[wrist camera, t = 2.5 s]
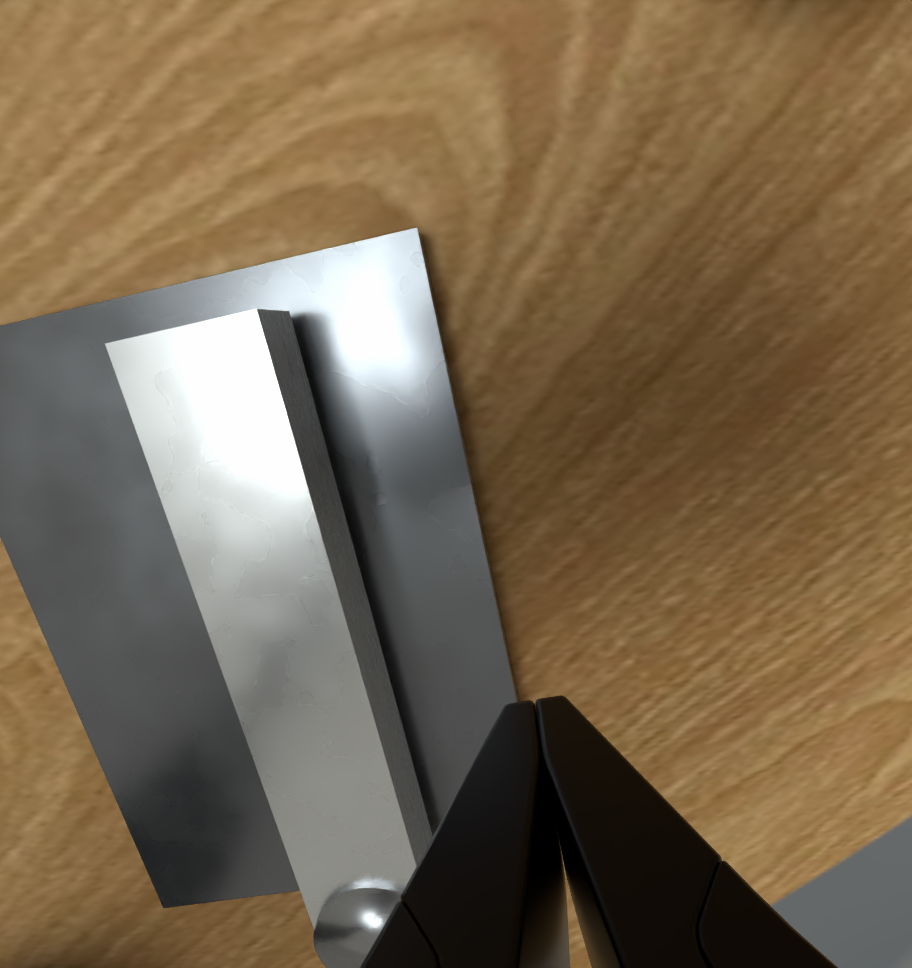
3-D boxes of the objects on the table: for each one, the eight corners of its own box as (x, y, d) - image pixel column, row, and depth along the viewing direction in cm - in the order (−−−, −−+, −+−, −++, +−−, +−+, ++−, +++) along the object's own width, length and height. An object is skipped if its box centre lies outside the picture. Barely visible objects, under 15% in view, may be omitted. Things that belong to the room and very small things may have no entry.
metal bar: (450, 900, 22) (446, 981, 19) (349, 913, 22) (331, 993, 20) (289, 310, 16) (251, 308, 14) (158, 340, 17) (97, 344, 14)
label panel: (546, 831, 23) (550, 863, 22) (178, 880, 25) (161, 912, 24) (420, 234, 18) (416, 226, 16) (-50, 344, 19) (-90, 345, 18)
